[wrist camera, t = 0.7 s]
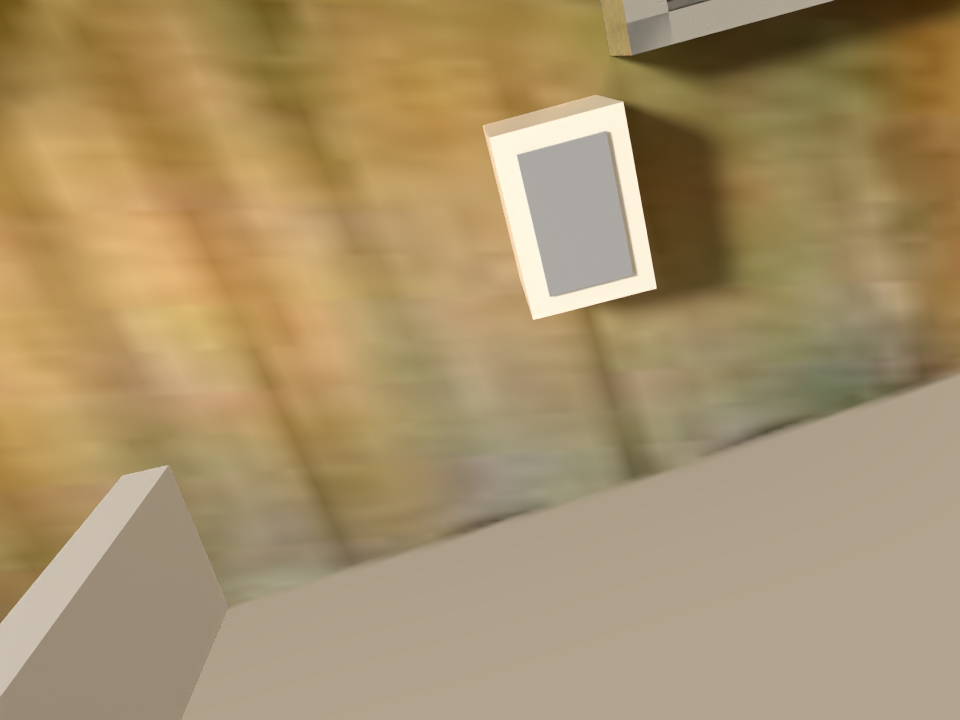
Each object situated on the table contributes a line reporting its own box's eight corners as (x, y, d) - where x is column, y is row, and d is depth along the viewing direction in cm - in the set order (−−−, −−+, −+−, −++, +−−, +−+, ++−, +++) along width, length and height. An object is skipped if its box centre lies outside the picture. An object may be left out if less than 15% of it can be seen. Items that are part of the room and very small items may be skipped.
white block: (482, 125, 30) (489, 138, 25) (596, 94, 30) (624, 102, 25) (521, 282, 33) (534, 321, 28) (626, 255, 32) (658, 290, 28)
